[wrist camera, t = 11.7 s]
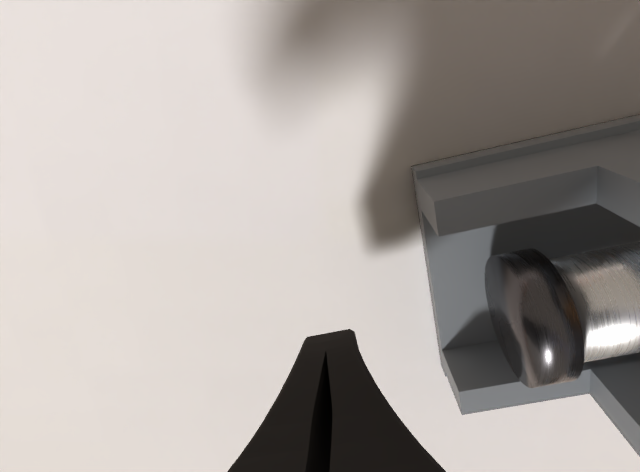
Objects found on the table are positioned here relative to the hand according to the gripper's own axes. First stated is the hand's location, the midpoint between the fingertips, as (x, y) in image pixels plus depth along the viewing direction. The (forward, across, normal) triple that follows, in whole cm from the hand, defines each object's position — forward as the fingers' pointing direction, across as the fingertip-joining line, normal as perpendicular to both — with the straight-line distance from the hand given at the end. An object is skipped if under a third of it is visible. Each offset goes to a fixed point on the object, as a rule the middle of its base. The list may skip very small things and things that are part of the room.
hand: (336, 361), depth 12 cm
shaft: (+2, -8, 0) cm, 9 cm away
